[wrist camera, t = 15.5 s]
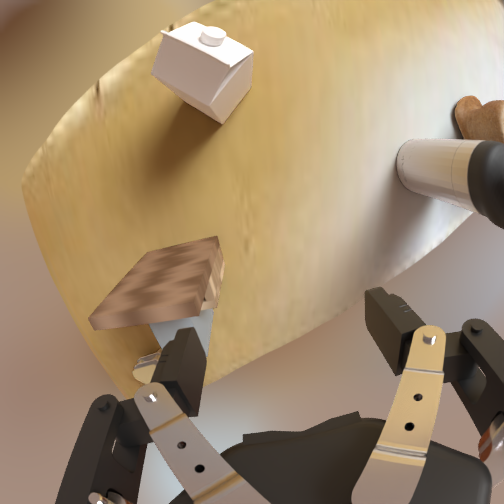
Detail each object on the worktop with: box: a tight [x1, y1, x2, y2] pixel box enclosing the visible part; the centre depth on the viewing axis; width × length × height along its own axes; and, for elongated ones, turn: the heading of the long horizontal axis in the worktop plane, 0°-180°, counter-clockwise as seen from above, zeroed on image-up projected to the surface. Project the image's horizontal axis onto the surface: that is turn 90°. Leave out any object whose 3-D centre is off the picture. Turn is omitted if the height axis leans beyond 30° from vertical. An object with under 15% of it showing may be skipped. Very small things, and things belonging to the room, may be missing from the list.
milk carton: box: [151, 22, 253, 124], centre depth 26 cm, size 7×7×19 cm
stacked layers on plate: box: [132, 349, 162, 384], centre depth 48 cm, size 10×9×6 cm
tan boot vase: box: [455, 96, 504, 144], centre depth 29 cm, size 15×12×15 cm
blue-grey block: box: [149, 308, 214, 357], centre depth 36 cm, size 6×10×10 cm, turn 13°
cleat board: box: [88, 236, 225, 330], centre depth 34 cm, size 12×5×20 cm, turn 103°
